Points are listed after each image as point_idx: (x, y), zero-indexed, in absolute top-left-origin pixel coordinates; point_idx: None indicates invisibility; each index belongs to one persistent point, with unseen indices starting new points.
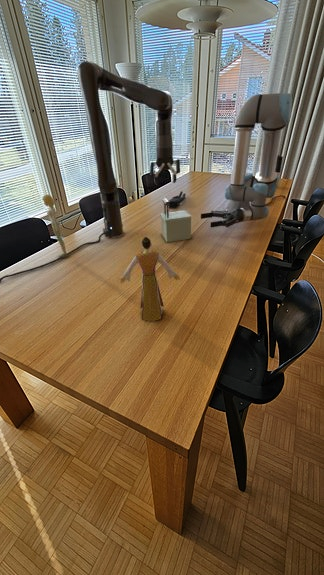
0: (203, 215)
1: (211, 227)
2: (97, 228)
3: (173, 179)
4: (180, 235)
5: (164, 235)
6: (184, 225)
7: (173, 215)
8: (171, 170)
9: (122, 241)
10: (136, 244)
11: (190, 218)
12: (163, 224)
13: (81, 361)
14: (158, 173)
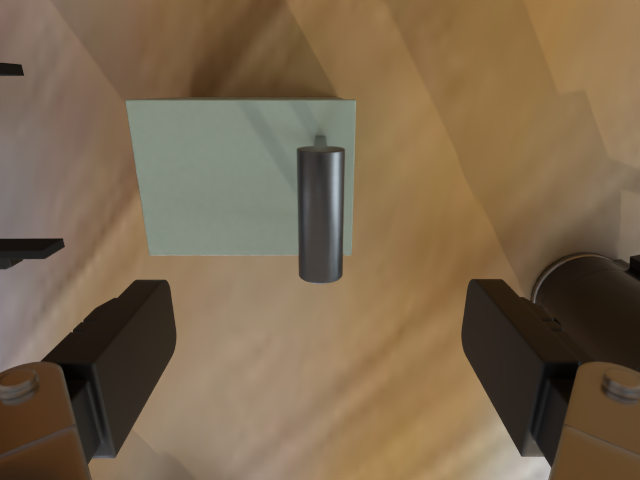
0: (33, 246)
1: (16, 65)
2: None
3: (147, 331)
4: (248, 97)
5: None
6: (204, 98)
7: (264, 173)
8: (89, 475)
9: (569, 199)
10: (511, 131)
11: None
12: None
13: None
14: (575, 422)
